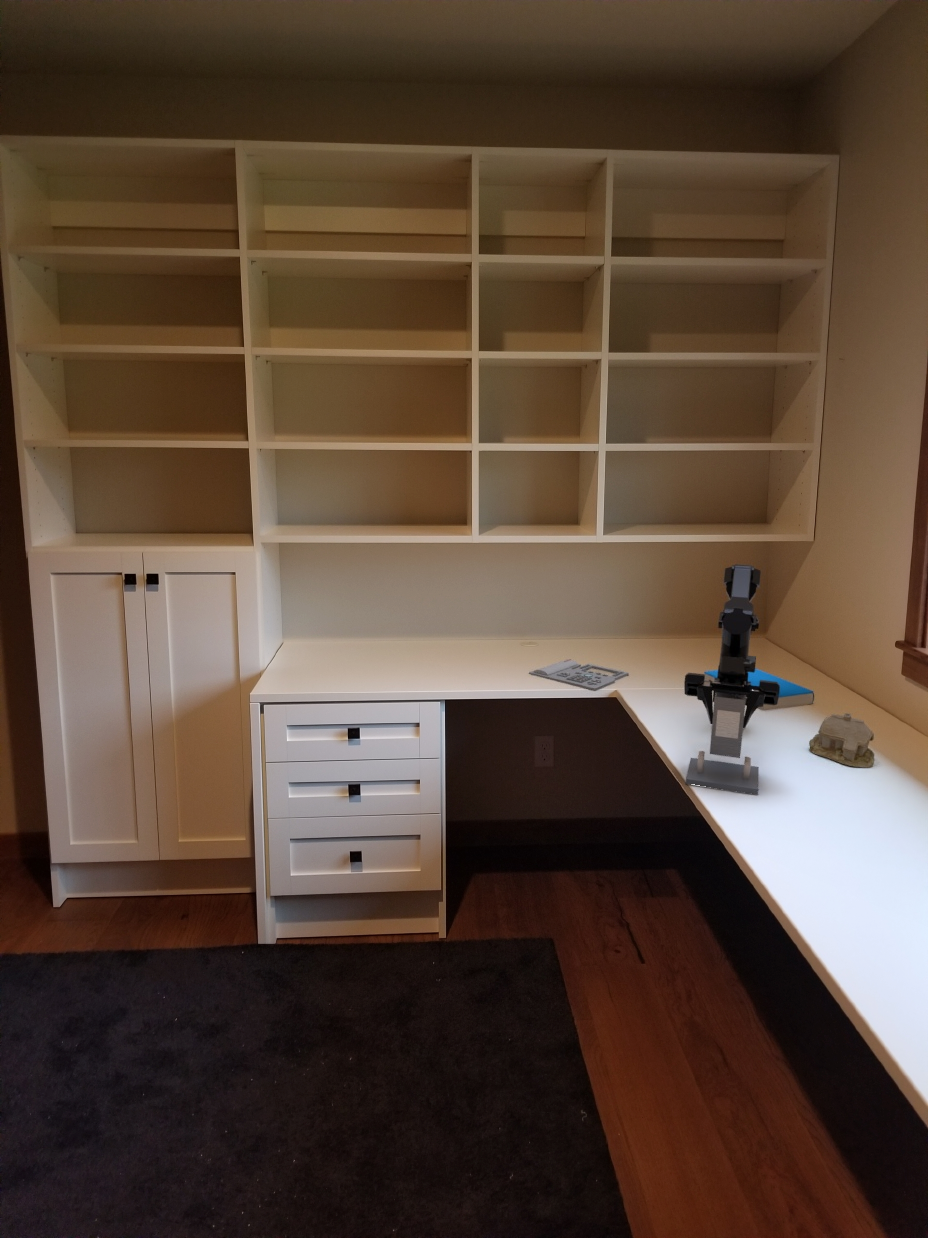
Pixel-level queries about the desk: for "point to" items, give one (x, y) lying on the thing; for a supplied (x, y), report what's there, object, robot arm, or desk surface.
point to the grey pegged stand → (723, 774)
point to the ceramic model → (844, 741)
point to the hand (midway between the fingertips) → (727, 725)
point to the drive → (727, 724)
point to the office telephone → (579, 674)
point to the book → (787, 694)
